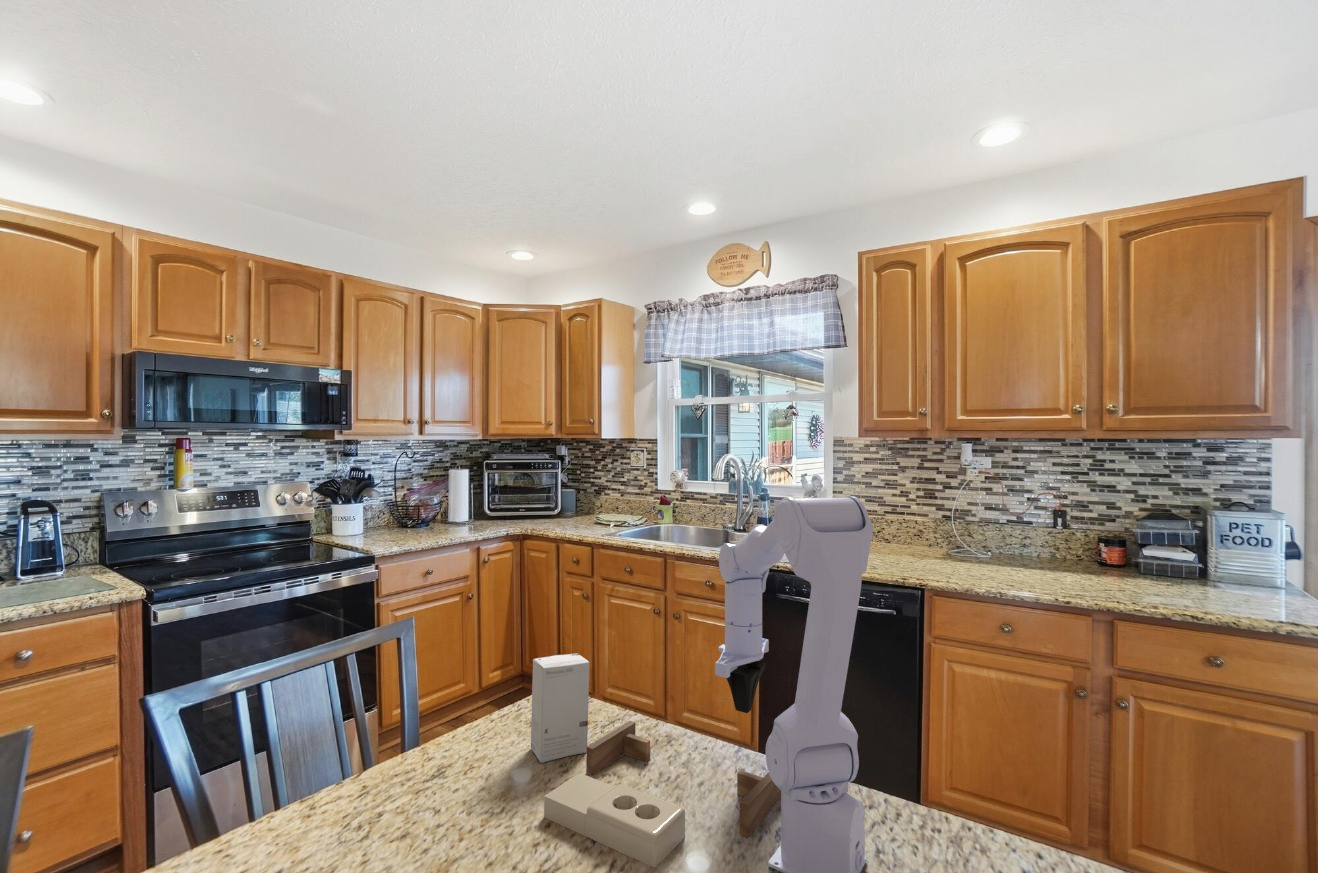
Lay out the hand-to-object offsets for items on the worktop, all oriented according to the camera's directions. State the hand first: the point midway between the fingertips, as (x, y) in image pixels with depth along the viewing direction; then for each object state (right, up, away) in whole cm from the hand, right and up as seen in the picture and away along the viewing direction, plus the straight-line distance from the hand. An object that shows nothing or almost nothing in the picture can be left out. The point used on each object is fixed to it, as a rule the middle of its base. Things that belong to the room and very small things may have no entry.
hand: (743, 710), depth 95 cm
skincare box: (-29, -10, +6) cm, 32 cm away
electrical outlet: (-19, -10, -14) cm, 25 cm away
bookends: (-10, -9, -4) cm, 14 cm away
